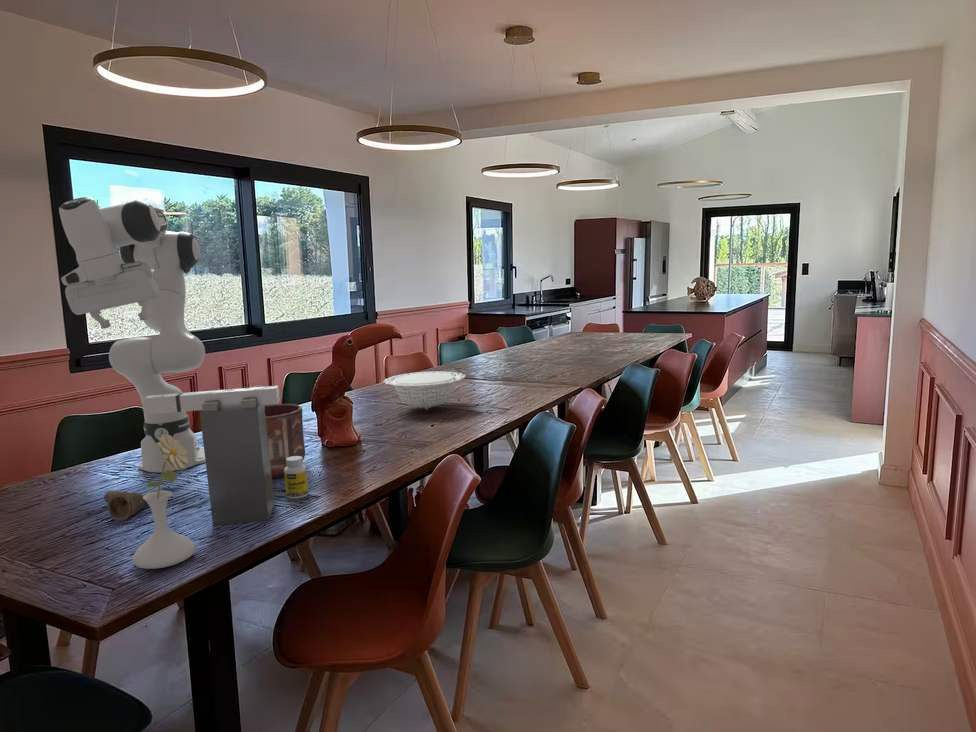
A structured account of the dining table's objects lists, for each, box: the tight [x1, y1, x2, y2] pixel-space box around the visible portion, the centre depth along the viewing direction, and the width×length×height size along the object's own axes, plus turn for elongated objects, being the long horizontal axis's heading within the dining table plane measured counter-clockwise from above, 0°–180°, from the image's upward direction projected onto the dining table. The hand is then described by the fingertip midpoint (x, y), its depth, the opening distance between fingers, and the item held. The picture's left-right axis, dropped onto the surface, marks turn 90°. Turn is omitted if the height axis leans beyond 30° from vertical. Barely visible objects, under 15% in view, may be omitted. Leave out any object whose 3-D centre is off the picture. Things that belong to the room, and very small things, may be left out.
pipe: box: [103, 490, 149, 521], centre depth 160 cm, size 6×17×10 cm
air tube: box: [143, 385, 281, 415], centre depth 149 cm, size 4×28×4 cm, turn 101°
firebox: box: [199, 398, 275, 527], centre depth 152 cm, size 10×12×28 cm
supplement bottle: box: [284, 456, 309, 500], centre depth 165 cm, size 5×5×10 cm
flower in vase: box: [131, 434, 197, 570], centre depth 129 cm, size 13×11×25 cm
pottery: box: [264, 403, 306, 479], centre depth 184 cm, size 18×18×18 cm
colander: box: [382, 370, 467, 411], centre depth 256 cm, size 32×32×13 cm
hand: (125, 323), depth 160 cm, fingers open, 8 cm apart
